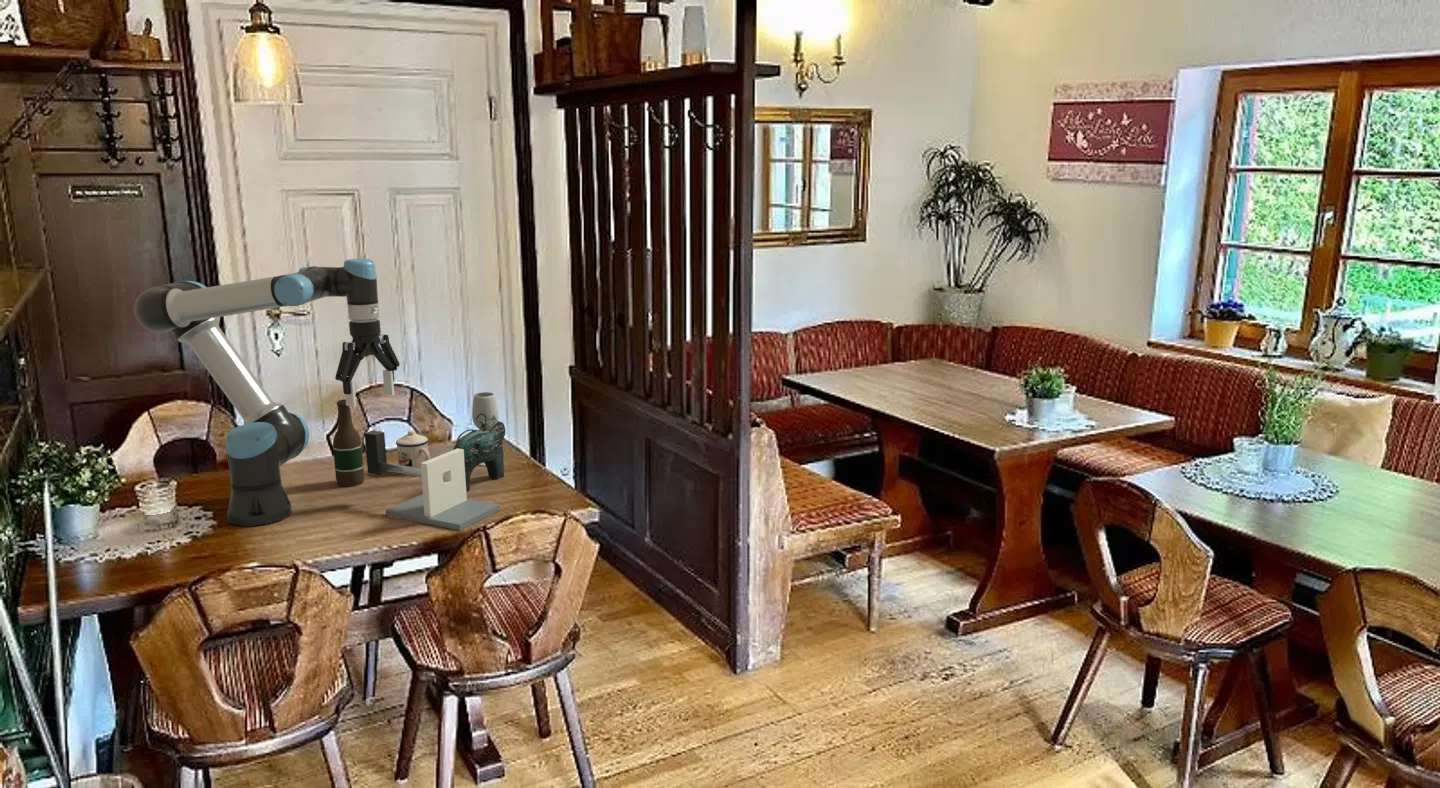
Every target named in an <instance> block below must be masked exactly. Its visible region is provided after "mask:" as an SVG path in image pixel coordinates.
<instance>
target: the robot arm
mask: <svg viewBox="0 0 1440 788" xmlns="http://www.w3.org/2000/svg"><path fill="white" fill-rule="evenodd" d="M377 279H378V276H377V270H376V264H375V262H374V260H372V259H370V258H350V259H349V258H348V259H345V260H344V262H343V266H339V267H337V266H316V265H313V266H303V267H301V268H299V270H298V271H297V272H294V273H287V274H283V275H276V276H270V277H264V278H263V277H262V278H258V279H251V280H246V281H245V280H244V281H240V282H232V283H227V284H220V285H215V286H210V287H209V286H208V287H207V286H206V285H204V284H202V283H201V282H198V281H194V280H179V281H175V282H172V283H167V284H163V285H159V286H154V287H153V286H152V287H150V288H148V289H147V288H146V290H144V291H142V292H141V293H140V294H139V295H138V296H137V298H136V299H135V302H134V305H133V306H134V307H133V312H134V316H135V319H136V320H137V322H138V324H140V326H142V328H144V329H146V330H147V331H149V332H152V333H157V334H158V333H159V334H161V333H163V334H165V333H170V332H171V334H172V335H173V336H174V337H175V339H176V340H177V342H179V343H183V344H187V345H188V346H189V347H190V349H191V350H192V351H193V352H194V354H195V355H196V356H197V357H196V358H198V359H199V361H200V362H201V364H202V365H203V366H204V368H205V369H206V370H207V371H208V373H209V375H210V376H211V377H212V378H213V380H214V381H215V383H216V384H217V385H218V387H219V388H220V389H221V391H222V392H223V394H224V395H225V397H227V399H228V400H229V402H230V403H231V405H232V406H233V407H234V409H236V411H237V412H238V414H239V415H240V417H241V418H242V419H243V424H240V425H238V426H236V427H234V428H232V429H231V430H230V431H229V432H228V433H227V434H226V437H225V452H226V455H227V463H228V471H229V472H228V473H229V478H230V479H229V480H230V486H231V488H230V489H231V493H230V499H229V502H228V508H227V510H226V517H227V518H226V519H227V522H228V523H229V522H230V523H232V524H231V525H233V524H235V525H234V526H237V525H240V526H239V527H257V526H256V525H258V526H263V525H262V524H265V525H269V524H268V523H270V524H273V523H272V522H274V523H276V522H275V521H277V522H280V521H282V519H283V520H284V518H285V519H287V518H288V517H290V516H291V515H292V513H293V511H292V503H291V501H290V498H289V497H288V494H287V492H286V489H285V488H284V487H283V483H282V478H281V476H282V475H281V468H280V467H281V466H282V465H284V464H286V463H287V462H289V461H290V460H293V459H295V458H296V457H297V456H299V455H300V454H301V453H302V452H303V451H304V450H305V449H306V448H307V446H308V444H309V441H310V428H309V427H308V424H307V422H306V421H305V419H303V417H302V416H300V415H299V414H295V413H293V412H289V411H288V410H287V408H286V407H285V405H284V404H283V403H280V402H275V401H274V400H273V399H272V398H271V396H270V395H269V394H268V393H267V391H266V390H265V388H264V387H263V385H262V384H261V383H260V381H259V380H258V379H257V377H256V376H255V375H254V373H253V372H252V370H251V369H250V367H249V366H248V364H246V362H245V360H244V359H243V358H242V357H241V355H240V354H239V352H238V351H237V349H236V348H235V347H234V345H233V344H232V342H230V340H229V339H228V336H226V334H225V333H224V332H223V329H222V328H221V327H220V320H221V317H226V316H227V317H228V316H233V315H240V314H247V313H253V312H257V311H264V310H271V309H276V308H282V307H283V308H284V307H298V306H303V305H305V304H307V303H309V302H312V301H313V302H314V301H315V300H319V299H322V298H326V297H328V298H329V297H330V298H331V297H335V298H336V297H340V298H341V297H344V298H345V297H346V301H347V302H346V303H347V304H346V305H347V314H348V319H349V320H350V321H349V322H348V327H349V335H350V336H351V337H352V340H351V342H347V341H343V342H342V350H341V351H342V352H341V355H340V358H339V362H338V367H337V369H336V374H335V377H334V378H335V380H336V381H340V382H342V390H343V391H342V392H343V394H344V395H345V399H346V406H350V407H352V408H354V407H357V398H356V396H357V395H356V387H355V381H353V378H354V376H355V375H356V372H357V370H358V368H359V366H360V364H361V361H362V360H363V359H364V358H366V357H370V356H374V358H376V360H377V361H378V362H379V363H380V365H381V366H382V367H383V368H384V370H382V376H383V377H382V378H383V388H384V389H383V393H384V395H387V396H395V385H394V383H395V371H397V370H398V367H400V364H401V363H400V361H399V359H398V357H397V355H396V353H395V351H394V349H393V347H392V345H391V342H390V337H389V334H382V333H381V332H382V331H381V321H380V320H379V318H380V309H379V296H378V294H379V293H378V280H377ZM290 514H291V515H290ZM289 515H290V516H289ZM286 517H287V518H286ZM279 520H280V521H279ZM230 523H229V524H230Z"/></svg>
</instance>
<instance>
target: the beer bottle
mask: <svg viewBox="0 0 1440 788" xmlns="http://www.w3.org/2000/svg"><path fill="white" fill-rule="evenodd" d="M336 407H337V422H338V423H337V424H338V425H337V431H336V433H335V434H334V436H333V441H332V449H333V450H332V451H333V461H334V469H335V470H334V471H335V473H334V474H335V480H336V485H337V486H339V487H342V488H347V487H348V488H349V486H351V487H357V486H360V485H363V484H362V483H364V481H365V469H364V458H363V457H364V455H363V446H362V438H361V435H360V434H359V432H358V430H356V428H355V426H354V424H353V418H352V413H351V406H346V398H345V399H340V400H337V401H336ZM359 484H360V485H359ZM356 485H357V486H356Z"/></svg>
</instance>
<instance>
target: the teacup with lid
mask: <svg viewBox="0 0 1440 788" xmlns="http://www.w3.org/2000/svg"><path fill="white" fill-rule="evenodd" d="M428 443H429V439H428V437H427V436H424V435H421V434H418V433H416V431H415V430H408V431H407V434H405V435H404V436H401V437H399V438H397V440H396V442H395V444H396V449H397V451H396V452H397V462H398V464H397V465H401V466H407V467H413V468H419V469H421V463H422V462H425V461H427V460H430V459H431V455H430V454H431V453H430V452H429V444H428Z"/></svg>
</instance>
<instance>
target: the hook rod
mask: <svg viewBox="0 0 1440 788" xmlns="http://www.w3.org/2000/svg"><path fill="white" fill-rule="evenodd" d="M363 434H364V443H365V455H366V468H367V473H368V474H370V475H371V474H372V475H377V476H380V475H383V474H386V473H389V472H391V473H398V474H402V475H403V474H404V475H408V476H409V475H410V476H414V477H421V478H422V476H421V469H419V468H413V467H407V466H401V465H398V464H395V463H389V462H387V461H388V460H387V459H388V458H387V449H386V437H385V431H381V430H380V431H378V430H370V431H367V432H364V433H363Z"/></svg>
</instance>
